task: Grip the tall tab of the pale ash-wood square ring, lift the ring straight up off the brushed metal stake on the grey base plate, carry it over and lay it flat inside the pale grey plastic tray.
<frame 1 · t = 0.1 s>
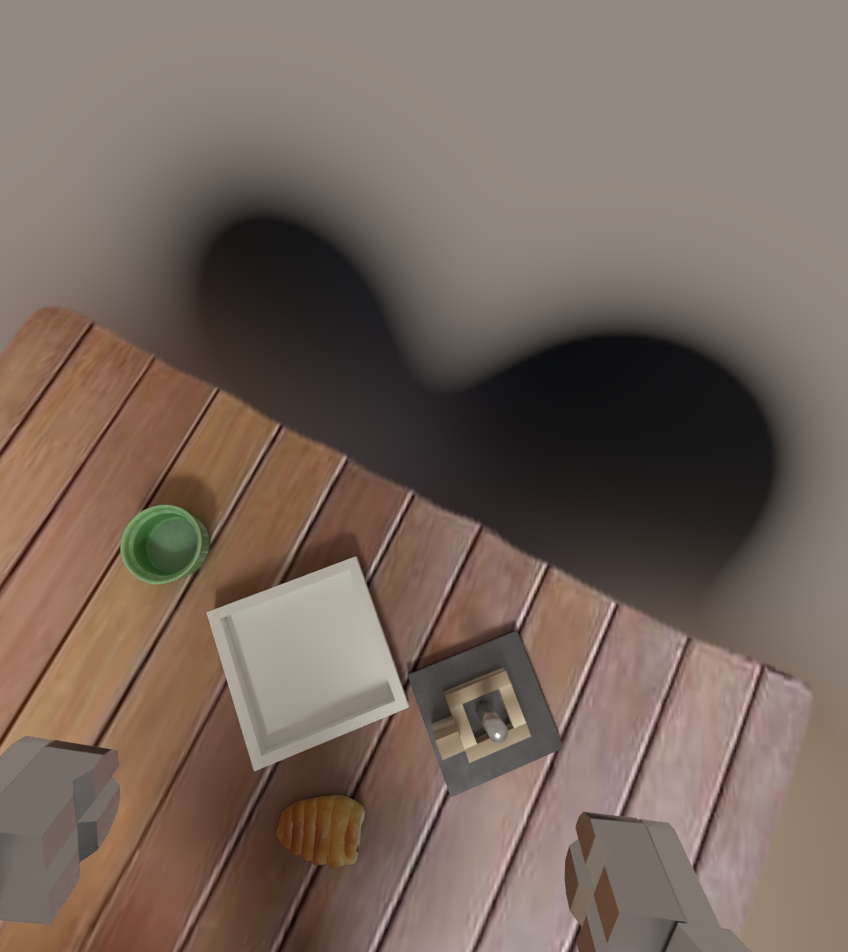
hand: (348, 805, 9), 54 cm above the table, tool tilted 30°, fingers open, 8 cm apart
pastry: (328, 824, 58), on the table
tray: (310, 655, 61), on the table
ring: (485, 711, 60), point 1 cm above the table, touching stake
ramekin: (177, 545, 63), on the table
stake: (483, 709, 61), on the table
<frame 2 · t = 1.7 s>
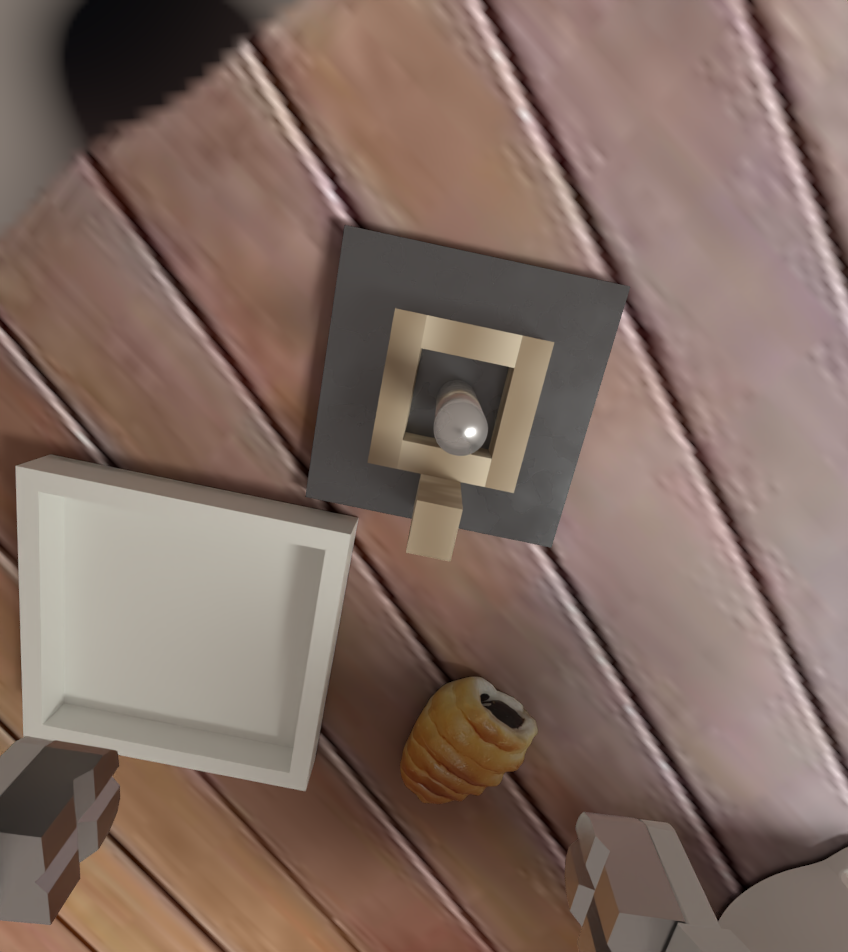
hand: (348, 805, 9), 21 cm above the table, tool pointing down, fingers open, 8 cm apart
pastry: (466, 722, 34), on the table
tray: (194, 619, 32), on the table
ring: (456, 399, 27), point 1 cm above the table, touching stake
stake: (455, 396, 28), on the table
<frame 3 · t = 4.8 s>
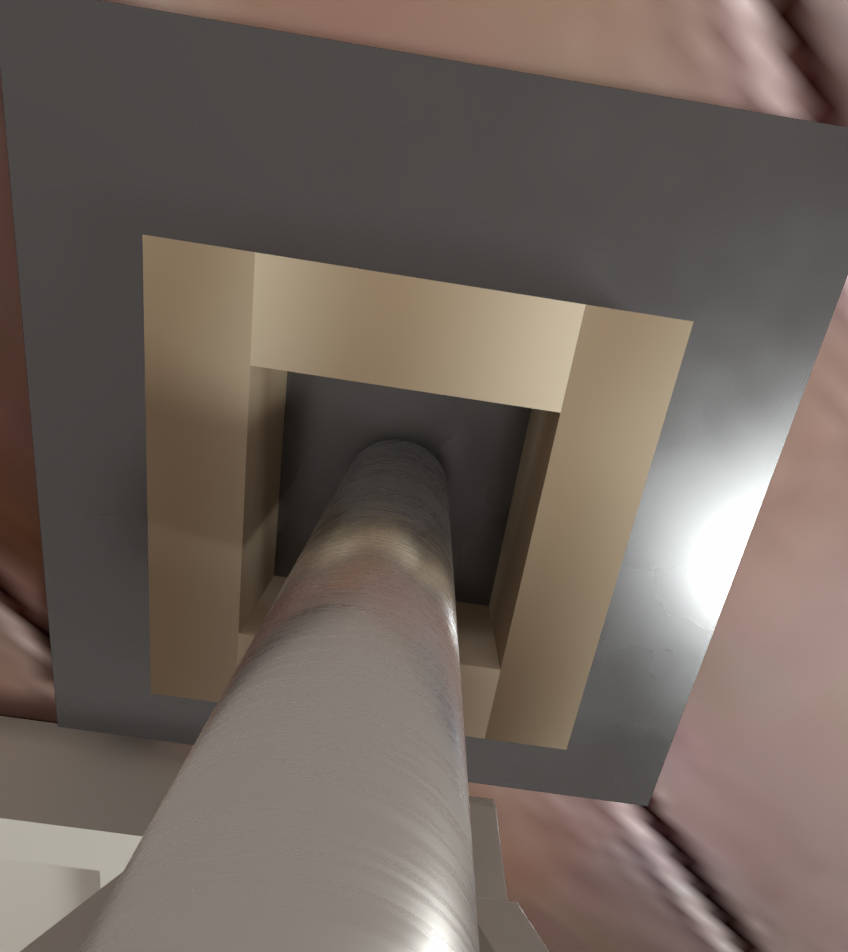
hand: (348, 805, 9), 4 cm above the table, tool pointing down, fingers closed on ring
ring: (396, 489, 10), point 1 cm above the table, touching gripper, stake
stake: (399, 474, 11), on the table
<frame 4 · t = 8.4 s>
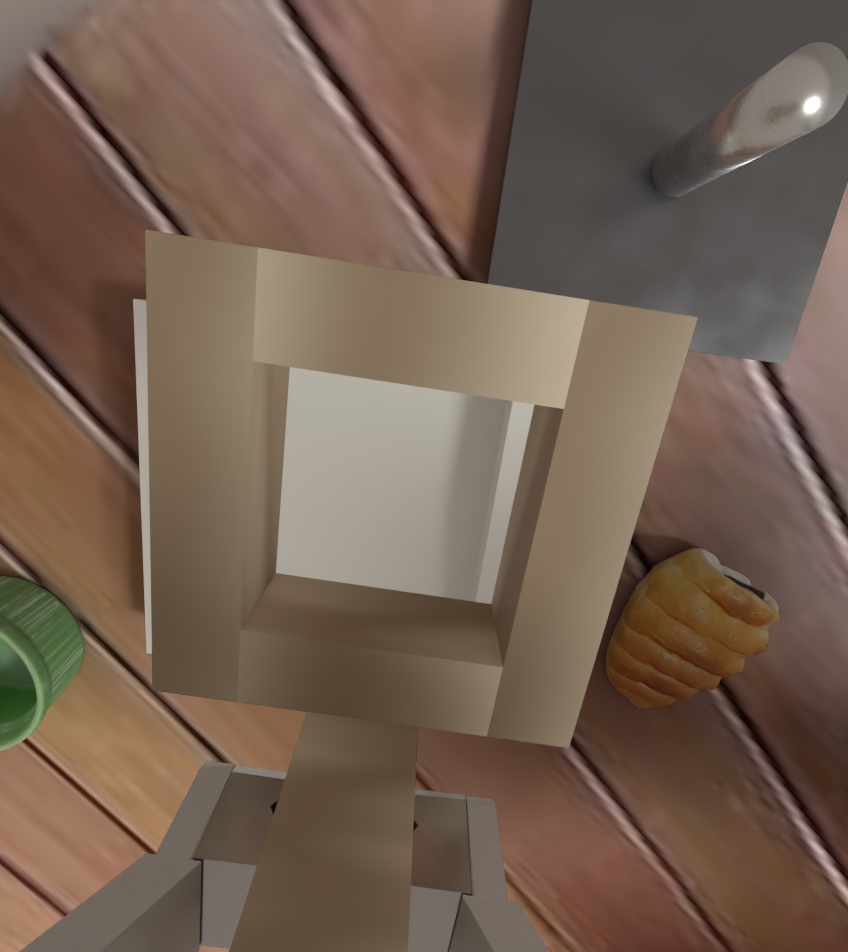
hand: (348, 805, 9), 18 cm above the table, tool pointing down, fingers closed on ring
pastry: (677, 612, 29), on the table
tray: (336, 502, 27), on the table
ring: (398, 486, 10), point 16 cm above the table, touching gripper
ramekin: (23, 631, 31), on the table
stake: (666, 176, 22), on the table
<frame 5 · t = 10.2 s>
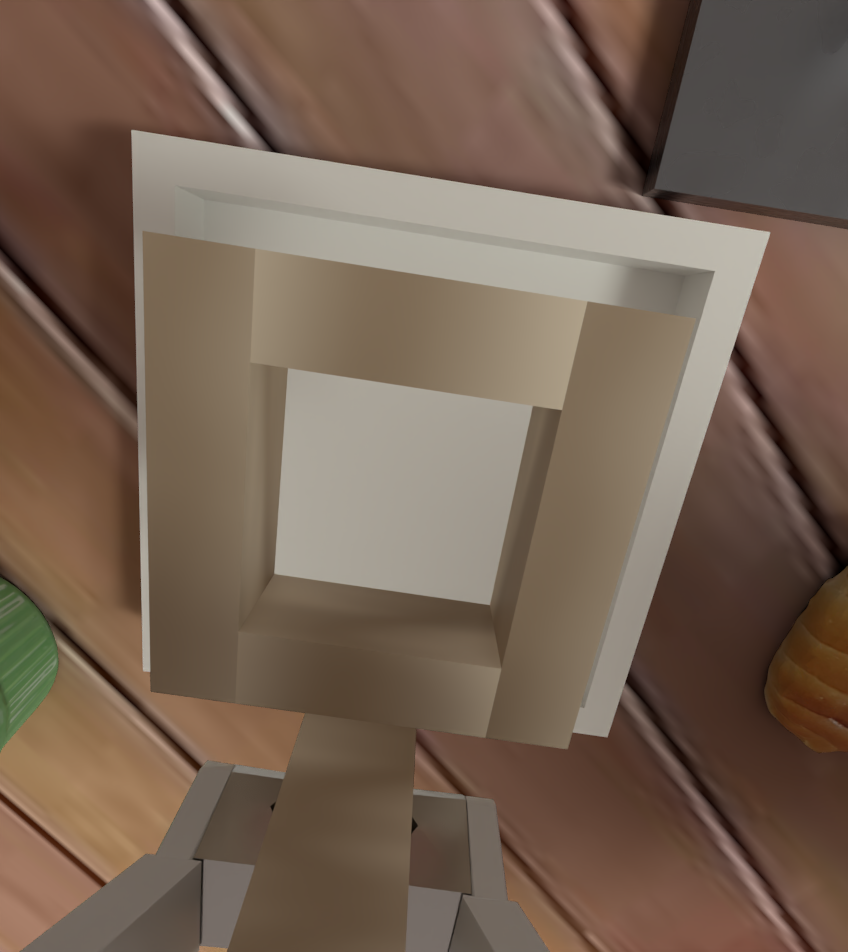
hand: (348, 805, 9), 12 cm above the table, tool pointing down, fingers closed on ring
tray: (413, 463, 19), on the table
ring: (396, 487, 10), point 9 cm above the table, touching gripper
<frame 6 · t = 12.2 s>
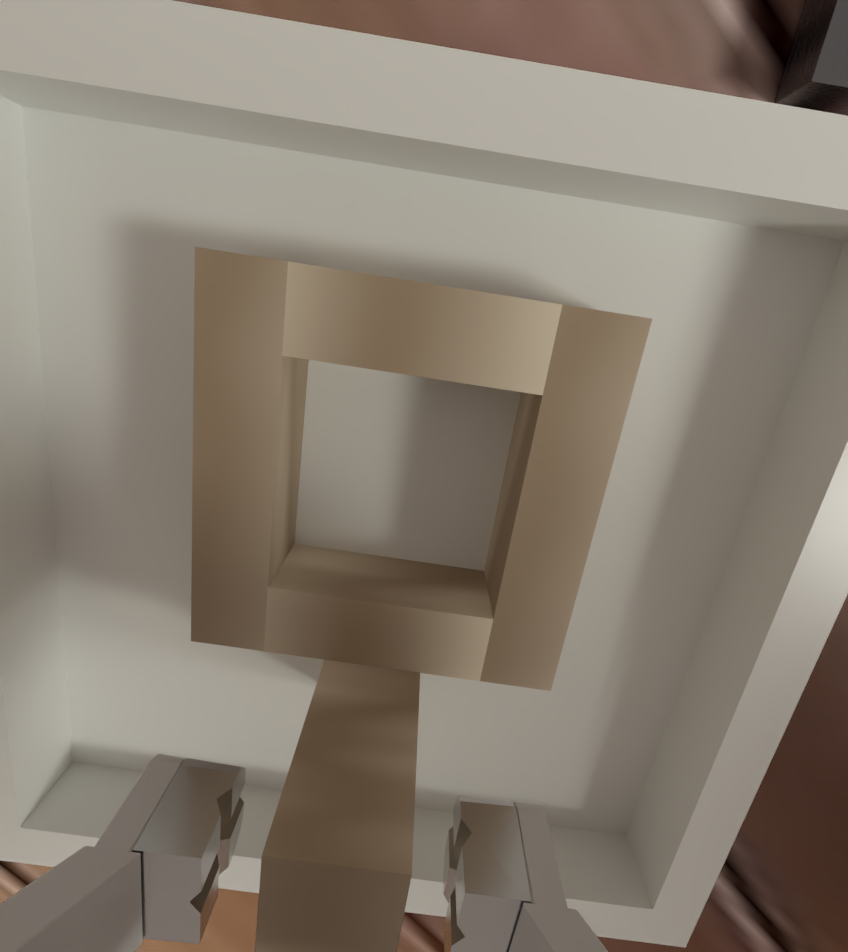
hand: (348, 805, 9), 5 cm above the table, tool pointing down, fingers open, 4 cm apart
tray: (390, 538, 13), on the table
ring: (402, 466, 11), point 1 cm above the table, touching tray
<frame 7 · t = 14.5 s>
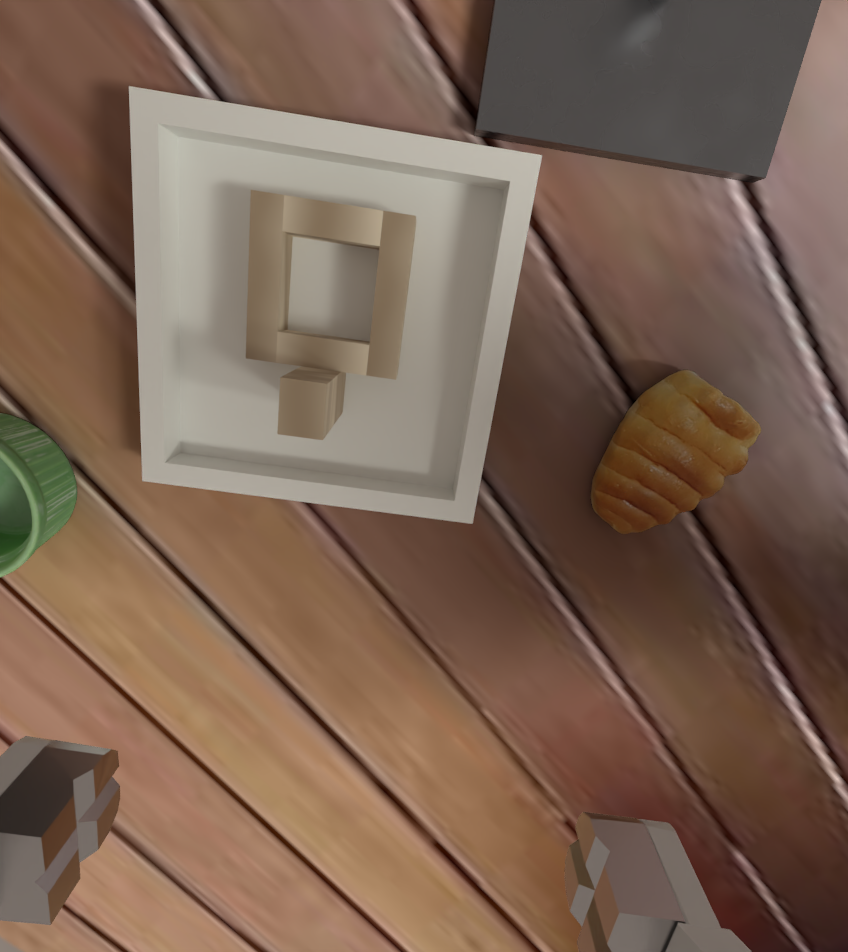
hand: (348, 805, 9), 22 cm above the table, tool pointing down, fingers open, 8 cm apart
pastry: (662, 445, 30), on the table
tray: (331, 331, 28), on the table
ring: (334, 290, 26), point 1 cm above the table, touching tray
ramekin: (13, 476, 30), on the table
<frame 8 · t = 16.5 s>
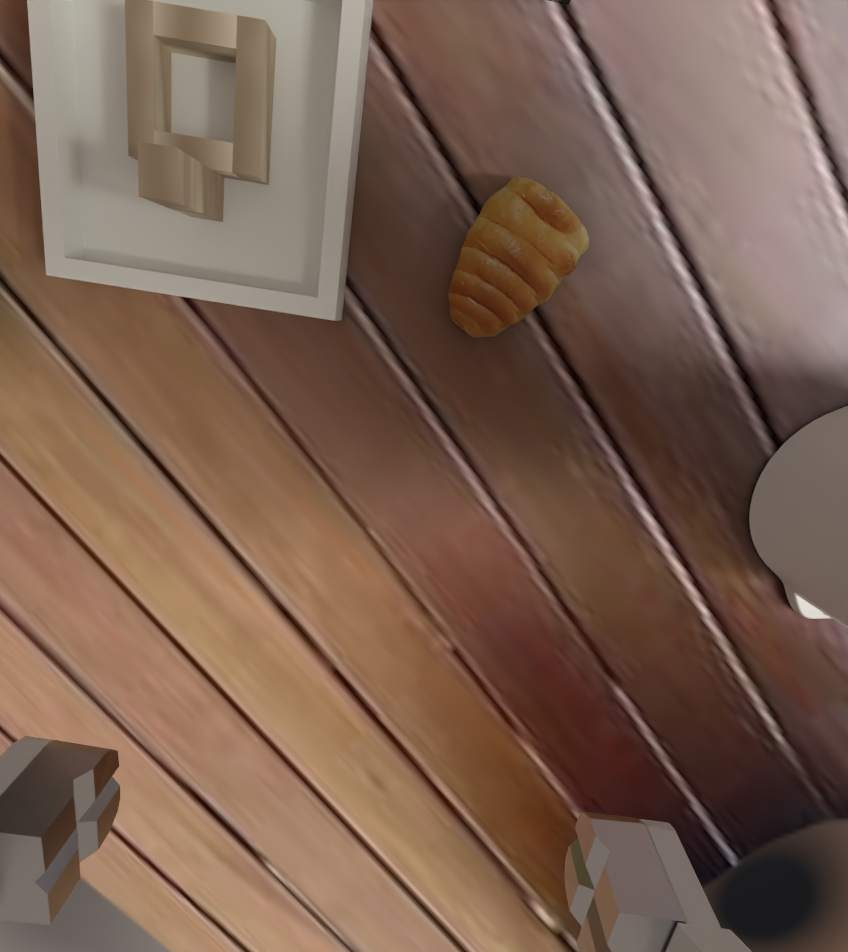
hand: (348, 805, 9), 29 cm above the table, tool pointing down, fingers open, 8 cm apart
pastry: (513, 261, 34), on the table
tray: (211, 146, 32), on the table
ring: (209, 104, 30), point 1 cm above the table, touching tray
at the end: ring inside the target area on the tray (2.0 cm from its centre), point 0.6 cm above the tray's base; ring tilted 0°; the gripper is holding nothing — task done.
